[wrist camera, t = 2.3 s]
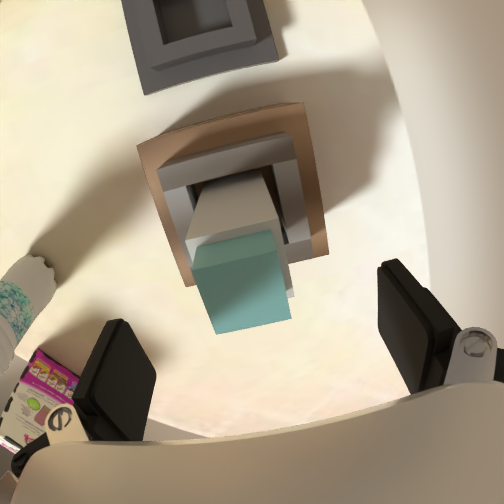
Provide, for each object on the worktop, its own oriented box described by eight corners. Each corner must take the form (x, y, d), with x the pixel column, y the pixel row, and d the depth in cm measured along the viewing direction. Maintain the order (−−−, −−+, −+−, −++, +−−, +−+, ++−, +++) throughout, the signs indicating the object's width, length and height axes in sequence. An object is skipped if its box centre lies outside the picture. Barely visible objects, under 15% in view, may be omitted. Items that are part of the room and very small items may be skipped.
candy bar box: (30, 360, 39) (-10, 438, 25) (36, 346, 38) (-8, 429, 23) (86, 398, 43) (59, 480, 28) (96, 386, 42) (68, 475, 27)
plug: (204, 182, 22) (177, 263, 11) (259, 168, 22) (286, 238, 11) (219, 232, 24) (209, 342, 13) (271, 220, 24) (302, 323, 13)
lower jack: (121, -11, 20) (107, -24, 16) (246, -45, 19) (248, -63, 15) (146, 95, 25) (134, 94, 21) (277, 61, 24) (284, 55, 21)
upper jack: (158, 135, 27) (122, 152, 18) (287, 102, 26) (313, 103, 17) (194, 249, 32) (181, 308, 23) (310, 222, 32) (339, 272, 23)
